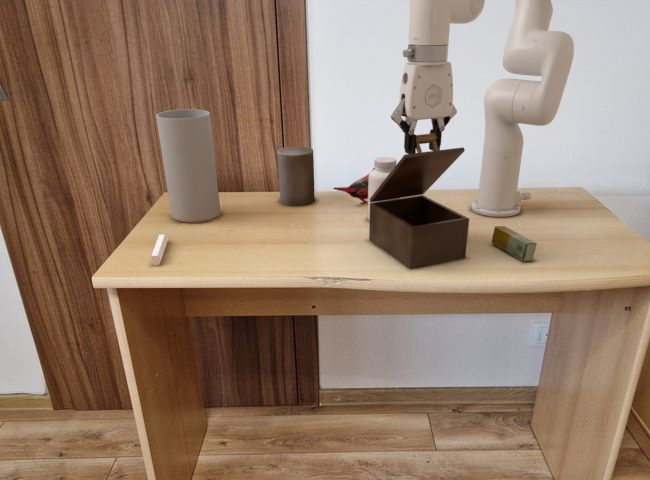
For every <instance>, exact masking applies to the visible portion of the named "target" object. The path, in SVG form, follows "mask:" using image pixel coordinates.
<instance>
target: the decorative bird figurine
mask: <svg viewBox="0 0 650 480" xmlns="http://www.w3.org/2000/svg"><path fill="white" fill-rule="evenodd" d="M374 169H375V168H374V167H373V168H372V170H374ZM372 170H371V171H372ZM369 174H370V172H369V173H368V174H366V175H365V176H363V177H361V178H359V179H357V180H356V181H354V182H353V183H351V184H350V185H349V186H346V187H345V186H344V187H343V186H340V187H339V186H338V187H333V188H332V189H333V190H335V191H340V192H345V193H347V194H348V195H349V196H351V197H352V198H356V199H358V200H360V201H361V202H360V203H359V206H360V205H362V206H363V205H368V181H369Z"/></svg>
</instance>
